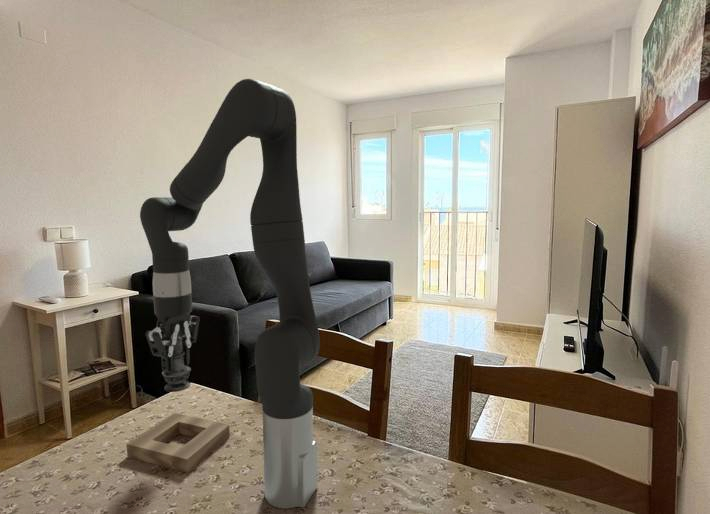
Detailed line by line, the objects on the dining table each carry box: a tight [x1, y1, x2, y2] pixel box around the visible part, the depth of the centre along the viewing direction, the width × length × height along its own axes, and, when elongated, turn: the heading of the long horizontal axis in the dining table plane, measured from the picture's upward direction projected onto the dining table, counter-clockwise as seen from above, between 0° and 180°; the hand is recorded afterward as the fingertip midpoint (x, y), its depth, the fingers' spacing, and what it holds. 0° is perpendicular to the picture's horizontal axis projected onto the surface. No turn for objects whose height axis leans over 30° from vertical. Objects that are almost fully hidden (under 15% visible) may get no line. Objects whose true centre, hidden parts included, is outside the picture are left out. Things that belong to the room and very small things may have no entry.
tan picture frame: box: [126, 412, 231, 474], centre depth 93 cm, size 16×14×3 cm
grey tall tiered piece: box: [161, 338, 192, 393], centre depth 91 cm, size 6×6×12 cm
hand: (176, 367), depth 91 cm, fingers closed on grey tall tiered piece, 4 cm apart
